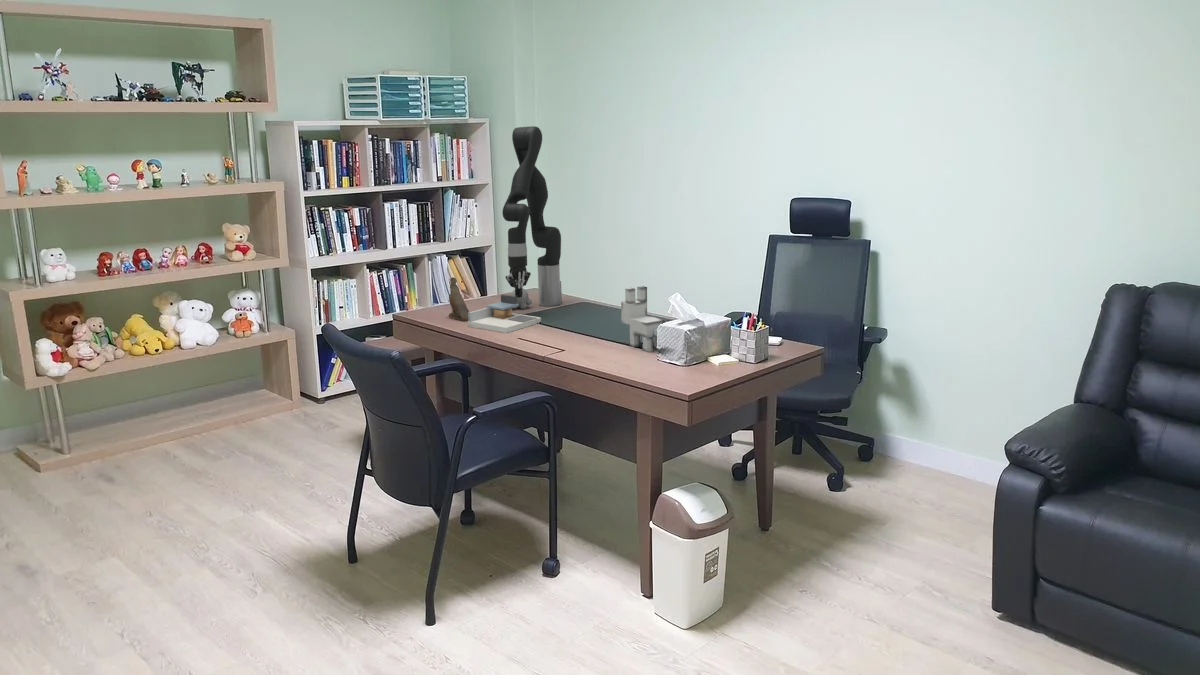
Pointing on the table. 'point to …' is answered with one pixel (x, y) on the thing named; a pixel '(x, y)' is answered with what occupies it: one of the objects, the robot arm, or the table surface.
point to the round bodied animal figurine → (522, 299)
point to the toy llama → (639, 319)
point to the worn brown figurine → (457, 303)
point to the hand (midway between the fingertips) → (518, 297)
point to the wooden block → (503, 313)
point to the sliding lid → (505, 302)
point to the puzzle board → (500, 321)
